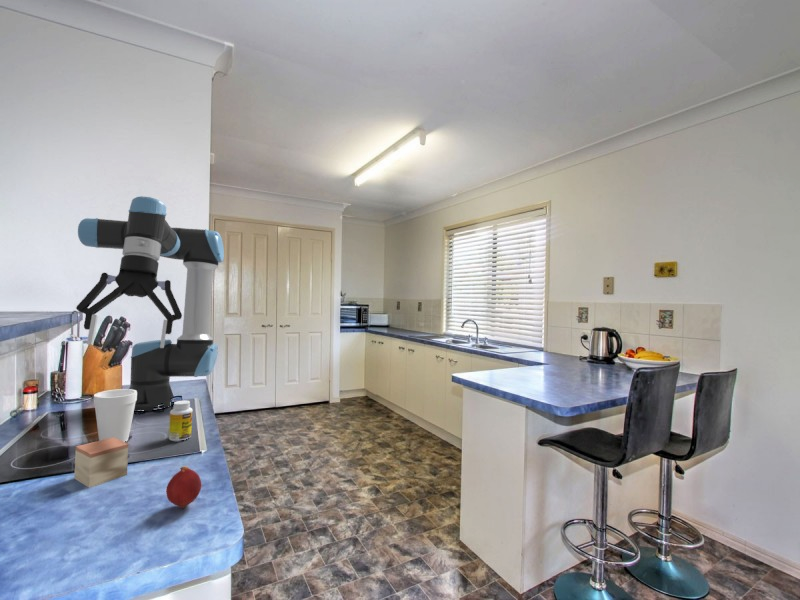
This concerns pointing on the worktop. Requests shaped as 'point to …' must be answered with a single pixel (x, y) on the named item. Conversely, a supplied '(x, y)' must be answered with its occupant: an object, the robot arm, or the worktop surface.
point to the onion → (183, 487)
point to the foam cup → (115, 413)
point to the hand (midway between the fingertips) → (127, 346)
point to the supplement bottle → (180, 421)
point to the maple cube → (101, 461)
